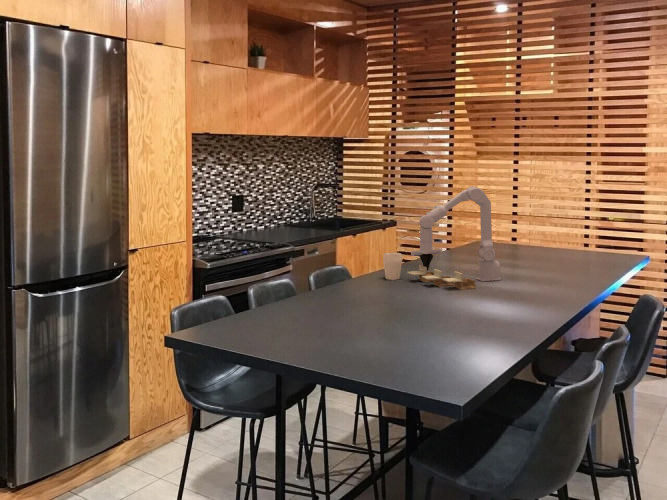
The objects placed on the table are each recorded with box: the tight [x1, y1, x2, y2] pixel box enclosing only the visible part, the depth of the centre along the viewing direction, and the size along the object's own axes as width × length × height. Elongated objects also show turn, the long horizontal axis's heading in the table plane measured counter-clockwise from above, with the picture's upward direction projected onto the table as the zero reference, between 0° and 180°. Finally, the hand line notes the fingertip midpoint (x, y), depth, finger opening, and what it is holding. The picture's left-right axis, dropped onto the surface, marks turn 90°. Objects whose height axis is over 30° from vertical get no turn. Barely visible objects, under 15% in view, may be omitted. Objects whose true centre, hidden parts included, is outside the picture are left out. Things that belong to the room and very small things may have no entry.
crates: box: [418, 271, 476, 290], centre depth 306 cm, size 15×29×3 cm, turn 15°
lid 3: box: [442, 271, 464, 282], centre depth 294 cm, size 7×7×3 cm
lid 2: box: [422, 268, 443, 280], centre depth 301 cm, size 7×7×3 cm
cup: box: [382, 252, 403, 281], centre depth 321 cm, size 9×9×12 cm
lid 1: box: [407, 264, 428, 276], centre depth 313 cm, size 7×7×3 cm
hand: (426, 270), depth 314 cm, fingers closed
